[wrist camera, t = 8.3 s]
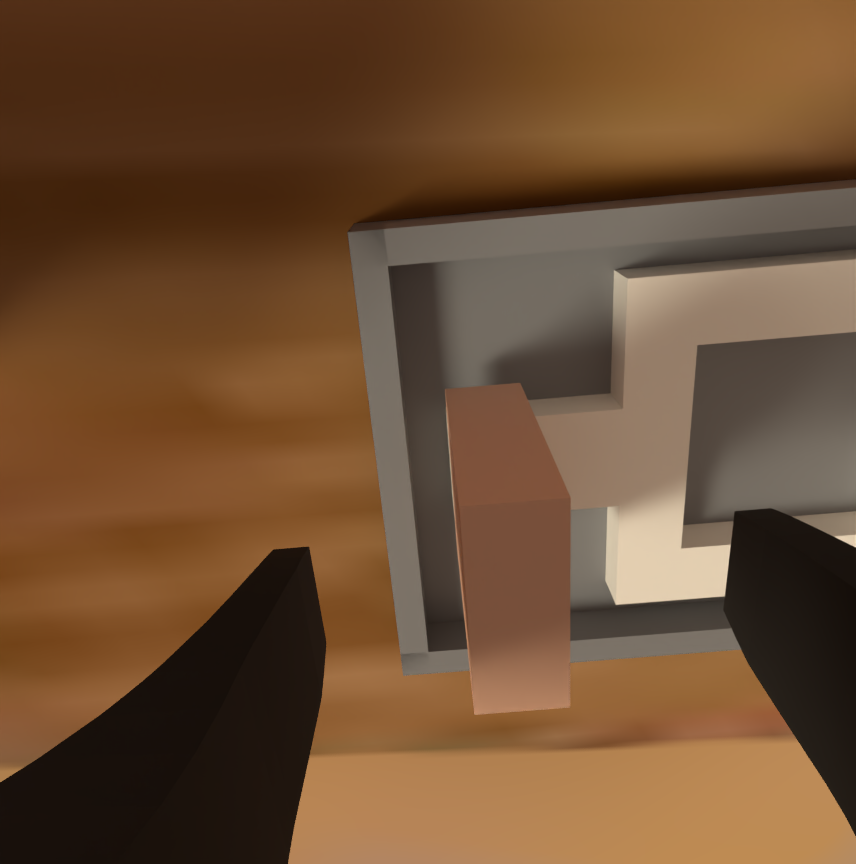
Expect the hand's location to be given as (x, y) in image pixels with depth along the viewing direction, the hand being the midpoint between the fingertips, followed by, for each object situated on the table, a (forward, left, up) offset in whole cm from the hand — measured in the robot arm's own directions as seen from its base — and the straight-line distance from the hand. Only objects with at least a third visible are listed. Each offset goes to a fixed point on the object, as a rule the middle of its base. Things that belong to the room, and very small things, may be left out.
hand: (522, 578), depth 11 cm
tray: (+5, 0, -5) cm, 7 cm away
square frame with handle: (+5, 0, -5) cm, 7 cm away
